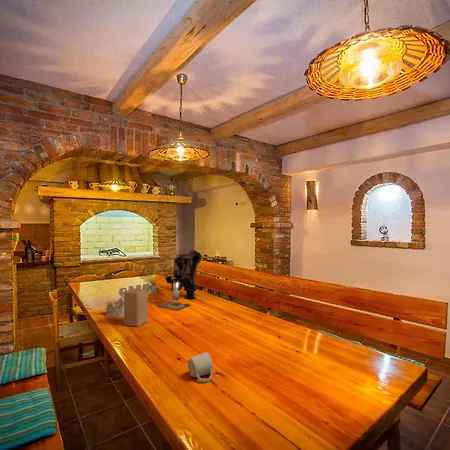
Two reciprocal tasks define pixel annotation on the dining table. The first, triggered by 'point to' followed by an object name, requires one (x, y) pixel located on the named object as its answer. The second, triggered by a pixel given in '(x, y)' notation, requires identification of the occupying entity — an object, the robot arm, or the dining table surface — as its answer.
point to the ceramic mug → (200, 366)
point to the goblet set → (145, 286)
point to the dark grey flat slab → (173, 305)
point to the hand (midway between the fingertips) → (175, 290)
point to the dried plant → (148, 277)
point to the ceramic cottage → (116, 308)
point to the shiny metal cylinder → (175, 290)
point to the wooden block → (135, 307)
